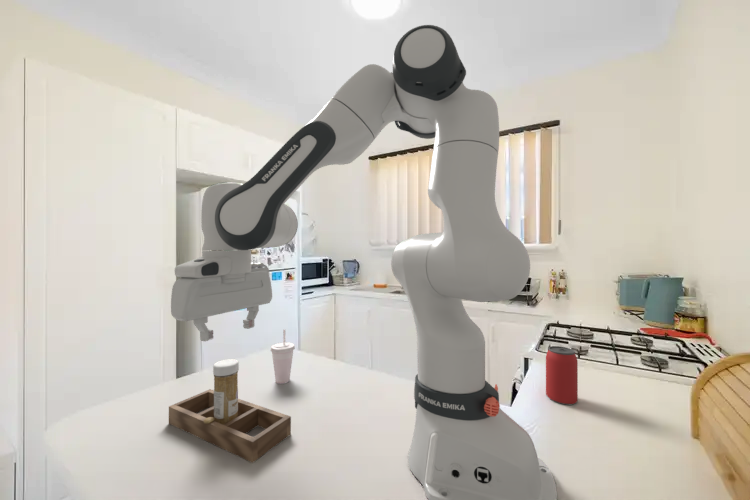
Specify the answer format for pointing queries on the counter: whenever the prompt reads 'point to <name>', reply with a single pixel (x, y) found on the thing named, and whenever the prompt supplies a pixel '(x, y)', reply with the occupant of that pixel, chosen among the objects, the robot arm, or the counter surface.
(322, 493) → the counter surface
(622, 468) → the counter surface
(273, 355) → the smoothie
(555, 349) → the beer can
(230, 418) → the sprinkles bottle
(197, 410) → the spice caddy
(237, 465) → the counter surface
